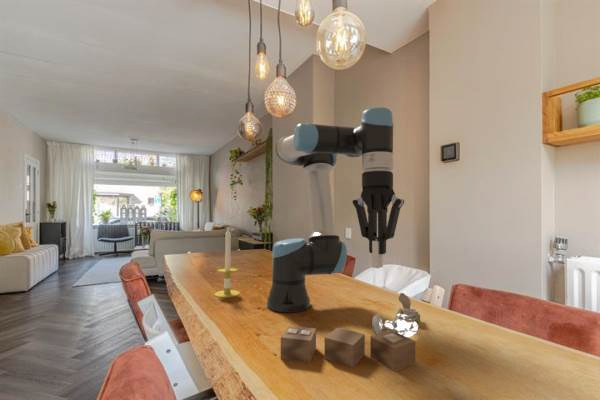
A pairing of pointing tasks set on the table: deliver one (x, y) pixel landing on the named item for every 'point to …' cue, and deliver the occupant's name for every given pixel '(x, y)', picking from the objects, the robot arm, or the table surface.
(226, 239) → the candle
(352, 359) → the plain block
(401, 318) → the figurine
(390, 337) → the dot block one
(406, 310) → the bone
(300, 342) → the dot block two
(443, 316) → the table surface
